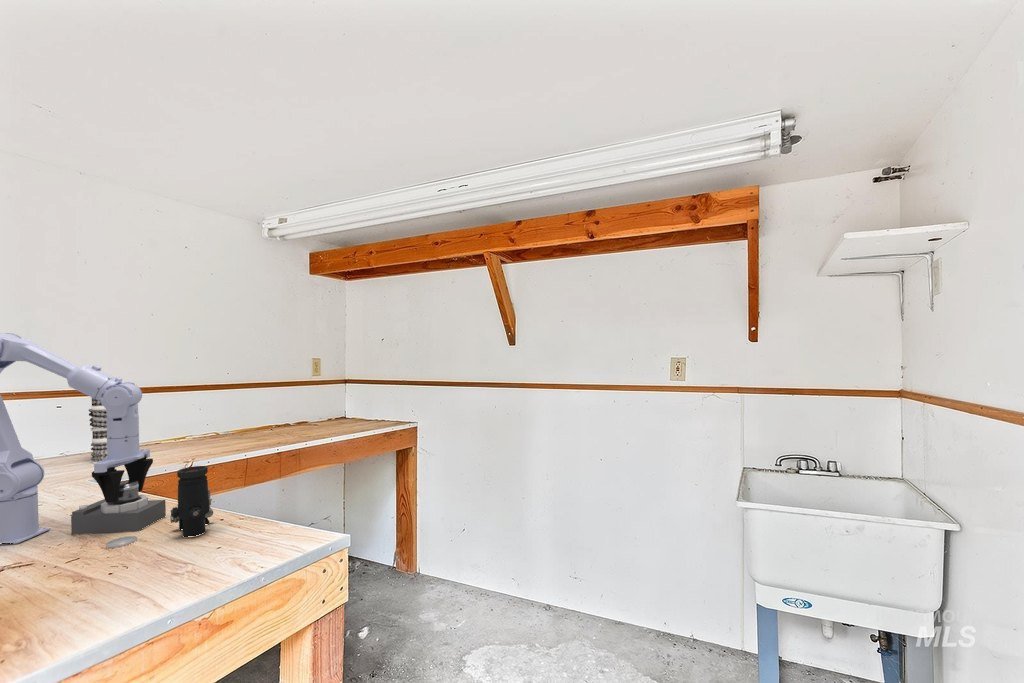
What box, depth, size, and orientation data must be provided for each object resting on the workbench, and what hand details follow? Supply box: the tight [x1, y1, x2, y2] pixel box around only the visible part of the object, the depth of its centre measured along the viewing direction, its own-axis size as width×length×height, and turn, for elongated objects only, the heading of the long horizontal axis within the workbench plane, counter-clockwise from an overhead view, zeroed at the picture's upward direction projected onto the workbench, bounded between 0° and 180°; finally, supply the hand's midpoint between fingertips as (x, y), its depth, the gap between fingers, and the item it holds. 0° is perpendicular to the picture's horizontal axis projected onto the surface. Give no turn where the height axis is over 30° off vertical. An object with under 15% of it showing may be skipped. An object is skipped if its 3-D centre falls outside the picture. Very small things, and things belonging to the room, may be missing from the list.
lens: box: [114, 479, 140, 505], centre depth 111 cm, size 4×4×6 cm
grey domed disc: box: [105, 535, 138, 549], centre depth 100 cm, size 5×5×1 cm
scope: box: [169, 465, 214, 538], centre depth 105 cm, size 8×14×10 cm
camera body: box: [70, 494, 167, 535], centre depth 111 cm, size 14×9×6 cm, turn 94°
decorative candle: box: [88, 397, 107, 465], centre depth 178 cm, size 9×9×25 cm
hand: (124, 496), depth 111 cm, fingers open, 7 cm apart
